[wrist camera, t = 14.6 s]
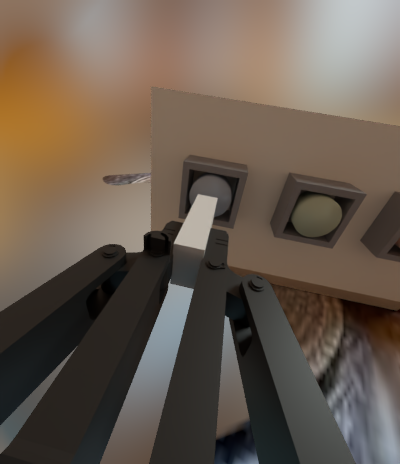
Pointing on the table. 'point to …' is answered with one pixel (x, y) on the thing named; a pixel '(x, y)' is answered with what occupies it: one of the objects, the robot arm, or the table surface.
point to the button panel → (285, 190)
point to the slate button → (213, 190)
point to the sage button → (315, 214)
